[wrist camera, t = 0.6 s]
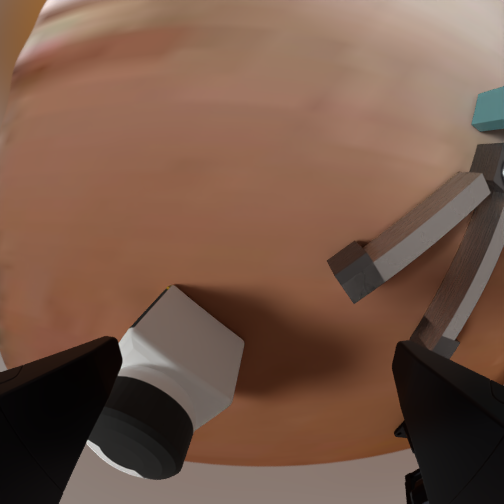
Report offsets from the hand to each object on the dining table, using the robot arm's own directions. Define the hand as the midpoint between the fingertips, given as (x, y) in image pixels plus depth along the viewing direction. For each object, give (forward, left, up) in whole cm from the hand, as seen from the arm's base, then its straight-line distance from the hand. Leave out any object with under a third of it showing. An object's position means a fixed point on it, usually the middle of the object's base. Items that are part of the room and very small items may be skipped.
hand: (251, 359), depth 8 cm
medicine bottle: (+3, +9, -12) cm, 16 cm away
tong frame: (-14, -6, -12) cm, 19 cm away
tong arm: (-8, -6, -12) cm, 15 cm away
